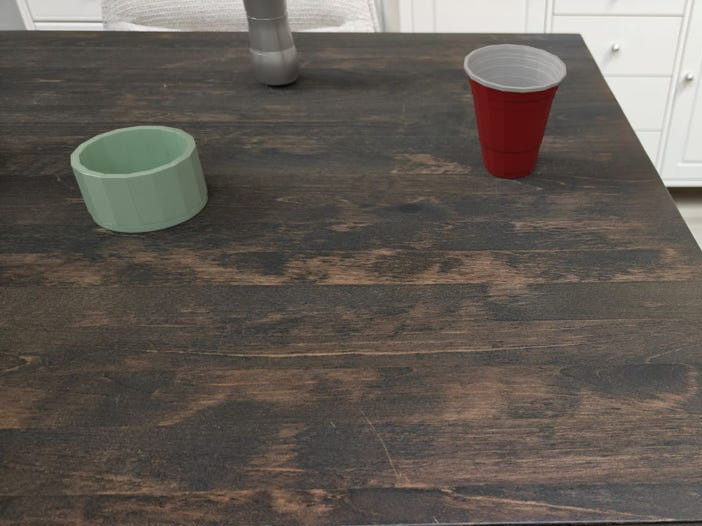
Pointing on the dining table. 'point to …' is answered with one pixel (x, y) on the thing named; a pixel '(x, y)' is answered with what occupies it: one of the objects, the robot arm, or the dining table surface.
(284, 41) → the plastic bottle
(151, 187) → the holder
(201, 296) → the dining table surface
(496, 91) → the plastic cup
